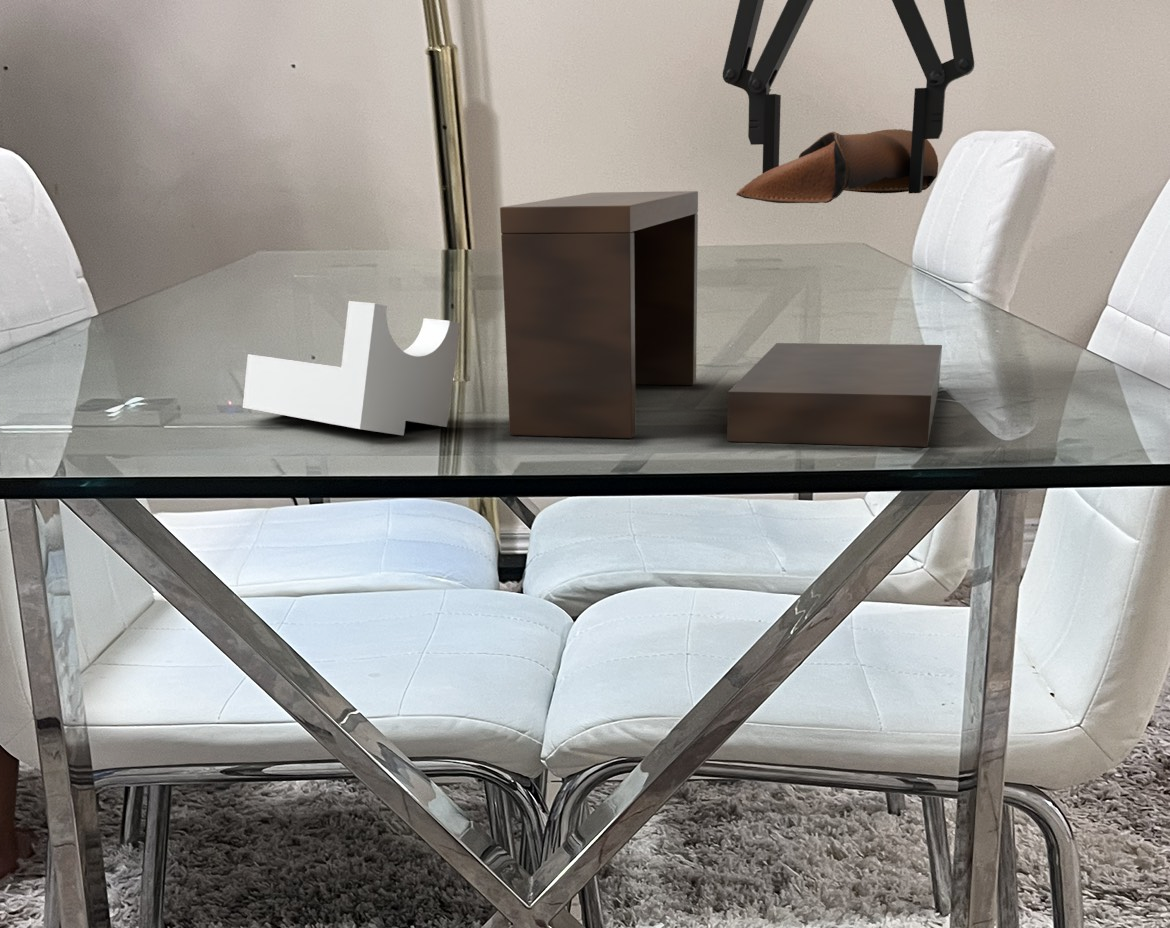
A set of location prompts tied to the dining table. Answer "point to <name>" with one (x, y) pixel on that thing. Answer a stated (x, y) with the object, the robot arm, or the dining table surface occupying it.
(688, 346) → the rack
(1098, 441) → the dining table surface
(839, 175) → the sunglasses case
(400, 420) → the bracket
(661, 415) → the dining table surface
